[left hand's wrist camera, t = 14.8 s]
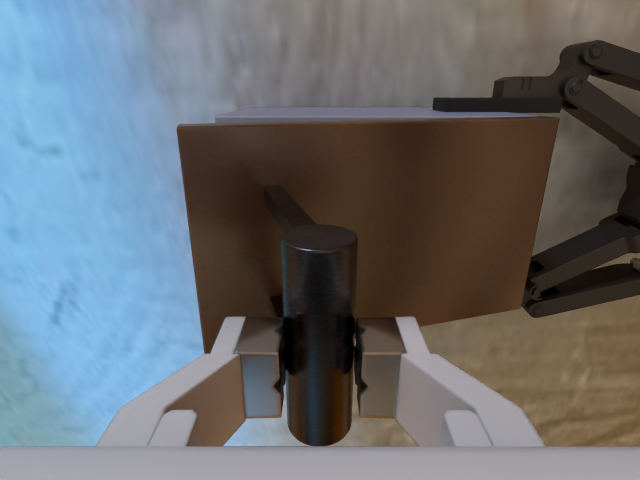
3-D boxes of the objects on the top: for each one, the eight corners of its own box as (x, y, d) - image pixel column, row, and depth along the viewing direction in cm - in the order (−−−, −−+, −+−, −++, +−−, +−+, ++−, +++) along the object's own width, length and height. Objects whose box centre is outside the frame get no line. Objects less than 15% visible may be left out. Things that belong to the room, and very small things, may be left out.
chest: (260, 231, 33) (230, 296, 23) (253, 107, 30) (214, 115, 19) (449, 232, 33) (507, 297, 22) (465, 107, 29) (542, 116, 19)
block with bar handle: (205, 349, 18) (213, 534, 10) (177, 124, 14) (160, 159, 7) (505, 298, 22) (662, 403, 15) (539, 116, 19) (767, 132, 11)
